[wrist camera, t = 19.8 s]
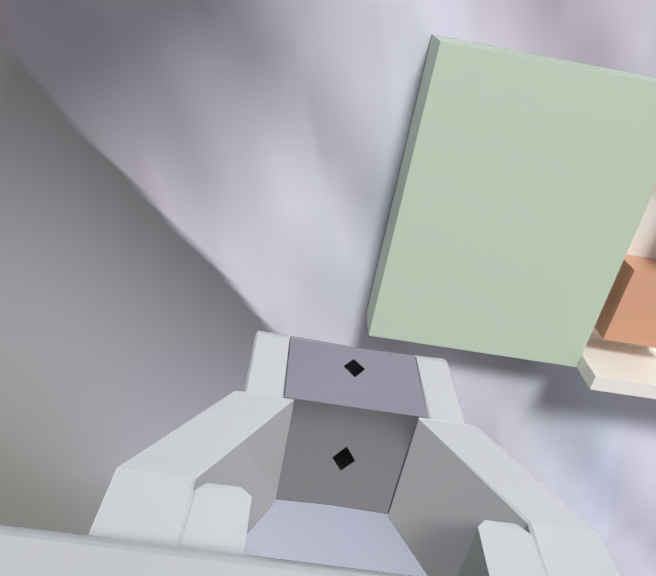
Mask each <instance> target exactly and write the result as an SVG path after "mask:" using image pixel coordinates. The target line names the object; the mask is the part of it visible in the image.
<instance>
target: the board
mask: <svg viewBox="0 0 656 576" xmlns="http://www.w3.org/2000/svg"><path fill="white" fill-rule="evenodd" d="M655 187H656V77H651V76H646V75H641V74H635V73H630V72H625V71H620V70H615V69H609V68H604V67H599V66H594V65H589V64H583V63H578V62H573V61H568V60H562V59H557V58H552V57H547V56H542V55H536V54H531V53H526V52H521V51H516V50H510V49H505V48H500V47H495V46H490V45H484V44H479V43H474V42H469V41H464V40H458V39H453V38H448V37H443V36H438V35H432V37H431V41H430V46H429V50H428V54H427V58H426V62H425V67H424V71H423V75H422V79H421V84H420V88H419V92H418V96H417V100H416V105H415V109H414V113H413V117H412V122H411V126H410V130H409V134H408V138H407V143H406V147H405V151H404V155H403V160H402V164H401V168H400V172H399V176H398V181H397V185H396V189H395V193H394V198H393V202H392V206H391V210H390V214H389V219H388V223H387V227H386V231H385V236H384V240H383V244H382V248H381V252H380V257H379V261H378V265H377V269H376V274H375V278H374V282H373V286H372V290H371V295H370V299H369V303H368V307H367V312H366V313H367V323H368V333H369V336H375V337H382V338H388V339H395V340H401V341H408V342H414V343H421V344H428V345H434V346H441V347H447V348H454V349H460V350H467V351H473V352H480V353H487V354H493V355H500V356H506V357H513V358H519V359H526V360H532V361H539V362H546V363H552V364H559V365H565V366H572V367H577V365H578V363H579V361H580V358H581V356H582V354H583V351H584V349H585V347H586V345H587V342H588V340H589V338H590V335H591V333H592V331H593V329H594V326H595V324H596V322H597V320H598V317H599V315H600V313H601V310H602V308H603V306H604V304H605V301H606V299H607V297H608V294H609V292H610V290H611V288H612V285H613V283H614V281H615V278H616V276H617V274H618V272H619V269H620V267H621V265H622V263H623V260H624V258H625V256H626V253H627V251H628V249H629V247H630V244H631V242H632V240H633V237H634V235H635V233H636V231H637V228H638V226H639V224H640V221H641V219H642V217H643V215H644V212H645V210H646V208H647V206H648V203H649V201H650V199H651V196H652V194H653V192H654V190H655Z"/></svg>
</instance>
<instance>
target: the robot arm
mask: <svg viewBox="0 0 656 576" xmlns="http://www.w3.org/2000/svg"><path fill="white" fill-rule="evenodd" d="M276 499H278V500H288V501H297V502H307V503H317V504H326V505H334V506H340V507H347V508H353V509H359V510H366V511H372V512H378V513H384V514H389V515H388V518H389V519H390V520H391V522H392V523H393V525H394V526H395V528H396V529H397V531H398V532H399V534H400V535H401V537H402V538H403V540H404V541H405V543H406V544H407V546H408V547H409V549H410V550H411V552H412V553H413V554H414V556H415V557H416V559H417V560H418V562H419V563H420V565H421V566H422V568H423V569H424V571H425V572H426V574H427V575H428V576H620V575H619V573H618V571H617V568H616V566H615V564H614V562H613V560H612V558H611V556H610V553H609V551H608V549H607V547H606V545H605V543H604V540H603V538H602V536H601V534H600V533H599V532H598V531H597V530H596V529H594V528H593V527H592V526H591V525H590V524H589V523H588V522H586V521H585V520H584V519H583V518H582V517H581V516H579V515H578V514H577V513H576V512H575V511H574V510H572V509H571V508H570V507H569V506H568V505H567V504H565V503H564V502H563V501H562V500H561V499H560V498H558V497H557V496H556V495H555V494H554V493H553V492H551V491H550V490H549V489H548V488H547V487H546V486H545V485H543V484H542V483H541V482H540V481H539V480H538V479H536V478H535V477H534V476H533V475H532V474H531V473H529V472H528V471H527V470H526V469H525V468H524V467H522V466H521V465H520V464H519V463H518V462H517V461H515V460H514V459H513V458H512V457H511V456H510V455H508V454H507V453H506V452H505V451H504V450H503V449H502V448H500V447H499V446H498V445H497V444H496V443H495V442H493V441H492V440H491V439H490V438H489V437H488V436H486V435H485V434H484V433H483V432H482V431H481V430H479V429H478V428H477V427H476V426H474V425H467V424H466V423H465V420H464V416H463V413H462V410H461V406H460V403H459V400H458V396H457V393H456V390H455V386H454V383H453V379H452V376H451V373H450V369H449V366H448V363H447V361H446V360H444V359H443V358H434V357H425V356H417V355H407V354H399V353H392V352H384V351H376V350H368V349H360V348H353V347H352V346H346V345H341V344H335V343H329V342H323V341H317V340H312V339H306V338H300V337H294V336H290V338H289V336H288V335H284V334H277V333H270V332H262V331H258V332H257V333H256V336H255V341H254V346H253V351H252V356H251V361H250V366H249V371H248V375H247V381H246V385H245V390H244V392H240V391H234V392H232V393H231V394H229V395H228V396H226V397H225V398H223V399H222V400H220V401H219V402H217V403H215V404H214V405H212V406H211V407H209V408H208V409H206V410H205V411H203V412H202V413H200V414H199V415H197V416H196V417H194V418H192V419H191V420H189V421H188V422H187V423H185V424H183V425H182V426H180V427H179V428H177V429H176V430H174V431H172V432H171V433H170V434H168V435H166V436H165V437H163V438H162V439H160V440H159V441H157V442H156V443H154V444H153V445H151V446H150V447H148V448H146V449H145V450H143V451H142V452H140V453H139V454H137V455H136V456H134V457H133V458H131V459H130V460H128V461H126V462H125V463H123V464H122V465H120V466H119V467H117V469H116V471H115V473H114V476H113V478H112V480H111V483H110V485H109V487H108V490H107V492H106V495H105V497H104V499H103V501H102V504H101V506H100V509H99V511H98V513H97V516H96V518H95V520H94V522H93V525H92V527H91V529H90V532H89V534H88V535H83V534H75V533H67V532H59V531H51V530H44V529H35V528H28V527H19V526H11V525H3V524H0V576H411V575H403V574H395V573H387V572H379V571H370V570H362V569H354V568H346V567H338V566H330V565H322V564H314V563H306V562H298V561H290V560H282V559H275V558H267V557H259V556H250V555H244V550H245V542H246V535H247V534H248V532H249V531H250V530H251V529H252V528H253V527H254V526H255V524H256V523H257V522H258V521H259V520H260V519H261V518H262V517H263V515H264V514H265V513H266V512H267V511H268V510H269V509H270V507H271V506H272V505H273V504H274V503H275V500H276Z"/></svg>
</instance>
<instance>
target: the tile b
mask: <svg viewBox="0 0 656 576" xmlns="http://www.w3.org/2000/svg"><path fill="white" fill-rule="evenodd" d="M594 327H595V329H596V330H597V331H598V333H599V334H600V336H601V337H602V339H604V340H610V341H617V342H623V343H629V344H635V345H642V346H648V347H654V348H656V259H651V258H645V257H640V256H634V255H628V254H626V256H625V258H624V260H623V263H622V265H621V267H620V269H619V272H618V274H617V276H616V278H615V281H614V283H613V285H612V288H611V290H610V292H609V294H608V297H607V299H606V301H605V304H604V306H603V308H602V310H601V313H600V315H599V317H598V320H597V322H596V324H595V326H594Z"/></svg>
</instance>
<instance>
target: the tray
mask: <svg viewBox="0 0 656 576" xmlns="http://www.w3.org/2000/svg"><path fill="white" fill-rule="evenodd" d="M626 254H628V255H634V256H640V257H645V258H651V259H656V187H655V190H654V192H653V194H652V196H651V199H650V201H649V203H648V206H647V208H646V210H645V212H644V215H643V217H642V219H641V221H640V224H639V226H638V228H637V231H636V233H635V235H634V237H633V240H632V242H631V244H630V247H629V249H628V251H627V253H626ZM577 369H578V370H579V372H580V374H581V375H582V377H583V379H584V380H585V382H586V384H587V386H588V387H589V389H590V390H597V391H604V392H610V393H617V394H624V395H630V396H637V397H644V398H650V399H656V348H654V347H648V346H642V345H635V344H629V343H623V342H617V341H610V340H604V339H602V337H601V336H600V334H599V333H598V331H597V330H596V329H595V327H594V329H593V331H592V333H591V335H590V338H589V340H588V342H587V345H586V347H585V349H584V351H583V354H582V356H581V358H580V361H579V363H578V365H577Z"/></svg>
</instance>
